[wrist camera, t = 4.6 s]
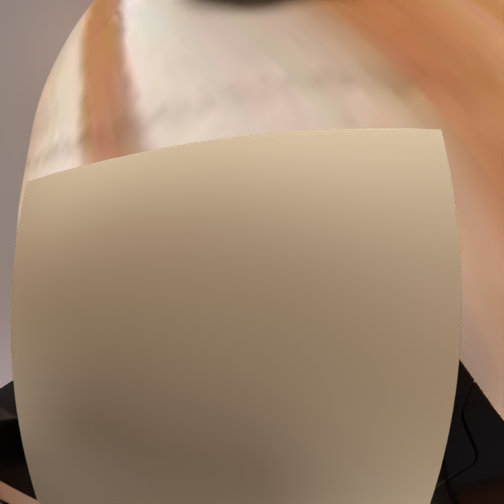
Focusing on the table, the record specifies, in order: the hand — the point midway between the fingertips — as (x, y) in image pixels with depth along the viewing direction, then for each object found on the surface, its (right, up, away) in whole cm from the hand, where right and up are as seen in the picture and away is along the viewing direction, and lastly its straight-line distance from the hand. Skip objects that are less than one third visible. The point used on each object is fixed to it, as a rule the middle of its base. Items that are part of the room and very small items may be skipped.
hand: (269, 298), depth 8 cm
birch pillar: (+2, -2, +6) cm, 7 cm away
